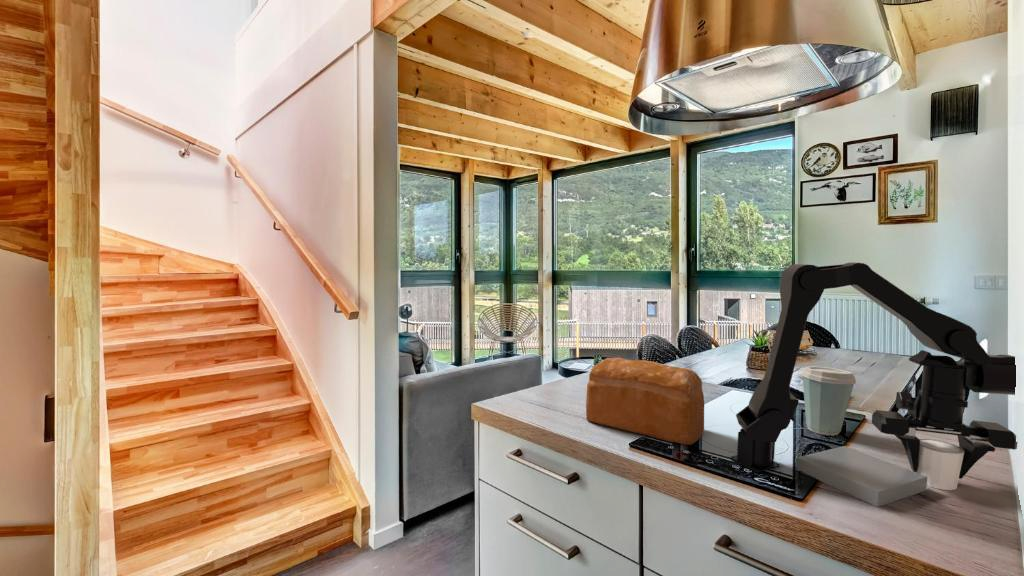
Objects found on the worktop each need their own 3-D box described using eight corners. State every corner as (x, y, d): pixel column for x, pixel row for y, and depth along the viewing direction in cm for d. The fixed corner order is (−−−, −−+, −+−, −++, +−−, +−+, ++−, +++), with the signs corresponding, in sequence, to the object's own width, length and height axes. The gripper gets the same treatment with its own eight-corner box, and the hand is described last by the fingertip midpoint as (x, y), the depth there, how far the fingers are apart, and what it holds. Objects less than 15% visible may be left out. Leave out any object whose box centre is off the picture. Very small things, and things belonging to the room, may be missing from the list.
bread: (605, 407, 125) (606, 349, 124) (707, 430, 110) (710, 364, 108) (580, 422, 114) (581, 359, 113) (691, 449, 99) (693, 377, 97)
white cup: (972, 494, 81) (975, 454, 80) (926, 489, 82) (929, 451, 82) (944, 475, 87) (947, 439, 87) (902, 471, 89) (904, 436, 88)
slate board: (877, 506, 76) (878, 492, 76) (796, 470, 89) (796, 457, 89) (926, 490, 82) (927, 476, 82) (843, 457, 95) (844, 445, 95)
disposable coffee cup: (792, 420, 116) (795, 361, 115) (843, 425, 112) (846, 364, 111) (804, 436, 106) (808, 371, 105) (860, 442, 102) (865, 375, 101)
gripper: (985, 384, 87) (978, 464, 89) (865, 373, 94) (860, 448, 96) (1023, 401, 77) (1015, 492, 78) (885, 388, 84) (879, 472, 85)
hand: (936, 474), depth 85 cm, fingers closed on white cup, 6 cm apart
